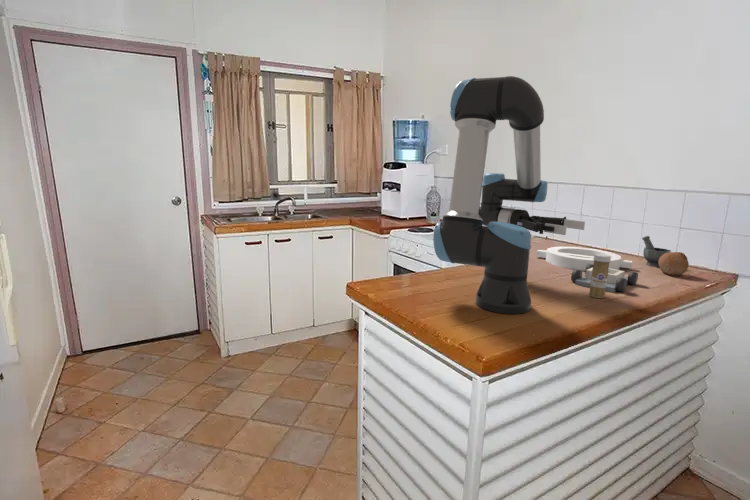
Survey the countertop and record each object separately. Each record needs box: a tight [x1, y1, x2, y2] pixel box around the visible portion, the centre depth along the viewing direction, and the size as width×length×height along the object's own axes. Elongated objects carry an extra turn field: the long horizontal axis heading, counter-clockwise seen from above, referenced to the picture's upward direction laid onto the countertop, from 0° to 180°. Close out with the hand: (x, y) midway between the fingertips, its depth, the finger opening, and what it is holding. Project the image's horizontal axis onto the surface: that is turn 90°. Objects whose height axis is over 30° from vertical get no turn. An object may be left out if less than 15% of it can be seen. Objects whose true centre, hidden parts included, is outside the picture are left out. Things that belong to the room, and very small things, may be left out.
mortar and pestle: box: [641, 235, 672, 268], centre depth 175 cm, size 11×9×12 cm
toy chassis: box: [570, 264, 639, 293], centre depth 145 cm, size 20×16×4 cm
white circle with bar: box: [536, 246, 633, 272], centre depth 175 cm, size 28×28×5 cm
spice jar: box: [588, 253, 611, 299], centre depth 129 cm, size 5×5×13 cm
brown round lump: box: [658, 251, 690, 277], centre depth 160 cm, size 10×9×10 cm
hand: (575, 228), depth 132 cm, fingers open, 13 cm apart
